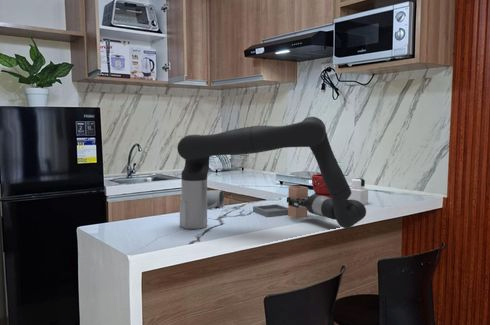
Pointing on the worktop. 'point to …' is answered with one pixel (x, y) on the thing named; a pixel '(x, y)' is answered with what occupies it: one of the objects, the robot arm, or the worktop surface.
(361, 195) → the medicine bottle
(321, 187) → the plant pot
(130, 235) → the worktop surface
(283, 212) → the tray
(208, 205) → the ceramic mug
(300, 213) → the cup
